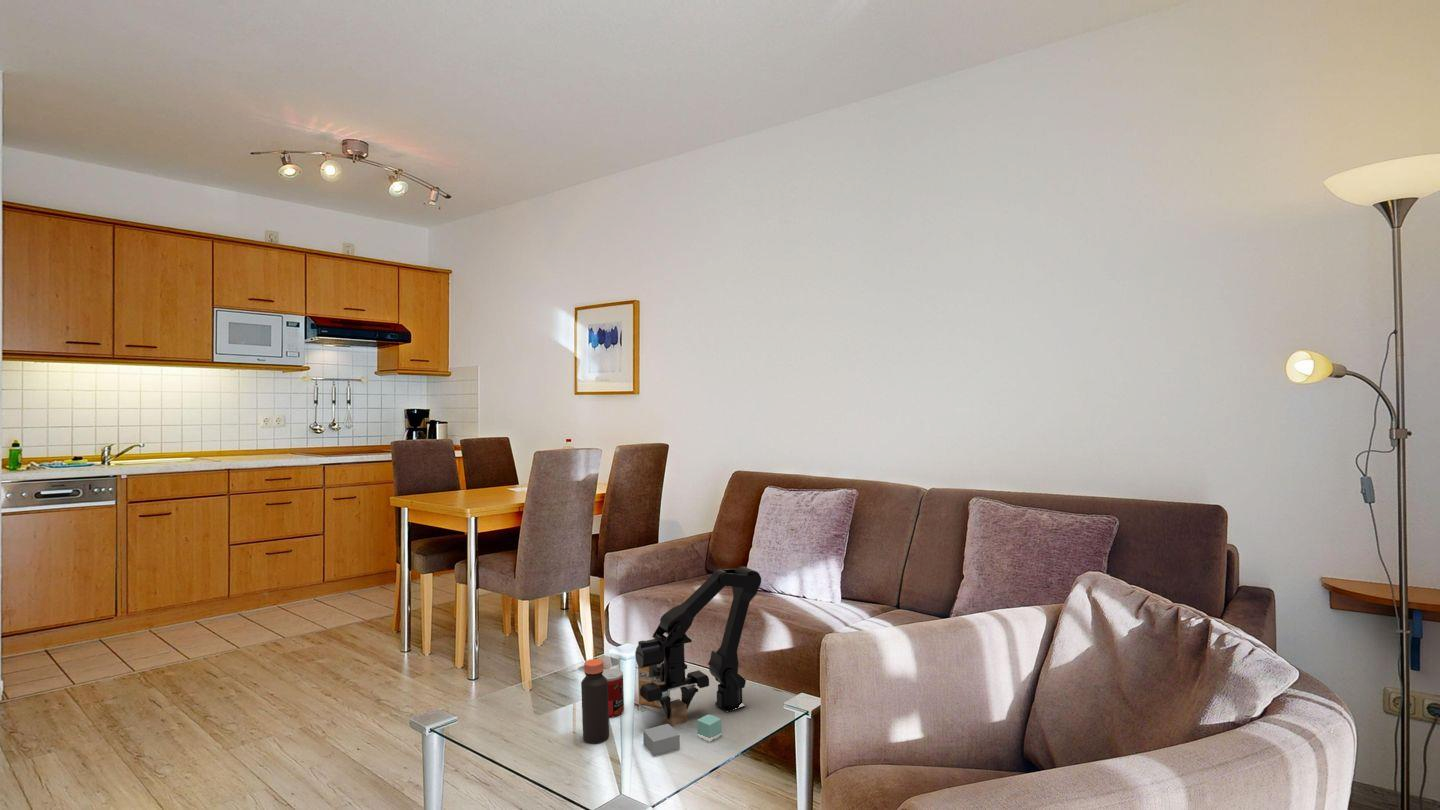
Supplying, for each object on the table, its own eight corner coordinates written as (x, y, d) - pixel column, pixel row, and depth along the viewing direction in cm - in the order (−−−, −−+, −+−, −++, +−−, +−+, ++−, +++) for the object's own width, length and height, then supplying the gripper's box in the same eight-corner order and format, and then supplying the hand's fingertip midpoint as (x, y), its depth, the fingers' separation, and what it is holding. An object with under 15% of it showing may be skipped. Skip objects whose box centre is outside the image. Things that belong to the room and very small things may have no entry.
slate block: (668, 738, 193) (668, 723, 193) (679, 750, 187) (679, 734, 187) (643, 745, 190) (643, 730, 190) (654, 757, 184) (653, 741, 184)
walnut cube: (679, 714, 206) (678, 698, 206) (687, 721, 203) (686, 704, 202) (664, 719, 204) (664, 703, 204) (672, 725, 200) (672, 709, 200)
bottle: (587, 746, 190) (585, 669, 189) (579, 735, 196) (577, 660, 195) (612, 740, 193) (610, 664, 192) (604, 729, 199) (602, 655, 198)
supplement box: (637, 704, 214) (636, 659, 213) (645, 697, 218) (644, 653, 218) (663, 708, 211) (662, 663, 210) (671, 701, 215) (669, 657, 215)
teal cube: (709, 730, 197) (709, 714, 197) (721, 736, 194) (721, 719, 194) (697, 736, 194) (696, 720, 194) (709, 742, 191) (709, 725, 190)
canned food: (618, 719, 205) (617, 679, 204) (591, 717, 206) (590, 678, 206) (627, 706, 212) (626, 668, 212) (601, 705, 214) (600, 667, 214)
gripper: (689, 644, 214) (691, 697, 215) (630, 658, 205) (632, 714, 205) (709, 656, 205) (710, 711, 206) (648, 671, 195) (650, 730, 196)
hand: (675, 716), depth 203 cm, fingers closed on walnut cube, 4 cm apart
